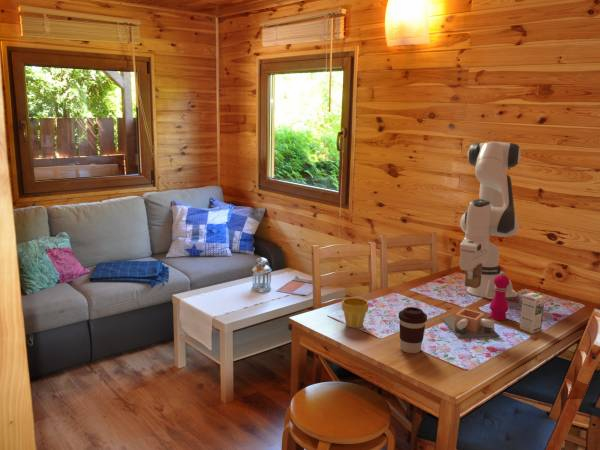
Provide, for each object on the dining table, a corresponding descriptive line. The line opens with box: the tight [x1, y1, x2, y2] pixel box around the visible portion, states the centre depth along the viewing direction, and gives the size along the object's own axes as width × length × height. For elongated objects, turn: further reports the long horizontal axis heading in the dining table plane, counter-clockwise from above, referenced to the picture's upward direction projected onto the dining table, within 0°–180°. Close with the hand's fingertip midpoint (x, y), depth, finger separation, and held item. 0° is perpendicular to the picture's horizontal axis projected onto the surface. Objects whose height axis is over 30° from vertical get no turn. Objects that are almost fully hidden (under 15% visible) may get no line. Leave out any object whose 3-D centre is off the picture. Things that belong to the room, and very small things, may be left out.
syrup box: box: [519, 292, 546, 334], centre depth 204 cm, size 6×6×14 cm
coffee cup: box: [398, 306, 428, 354], centre depth 185 cm, size 10×10×15 cm
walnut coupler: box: [464, 263, 482, 288], centre depth 201 cm, size 4×4×9 cm
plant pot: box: [341, 297, 369, 329], centre depth 206 cm, size 10×10×10 cm
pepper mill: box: [489, 271, 510, 321], centre depth 215 cm, size 7×7×20 cm
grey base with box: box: [440, 307, 500, 339], centre depth 205 cm, size 18×16×6 cm
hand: (473, 276), depth 201 cm, fingers closed on walnut coupler, 4 cm apart
